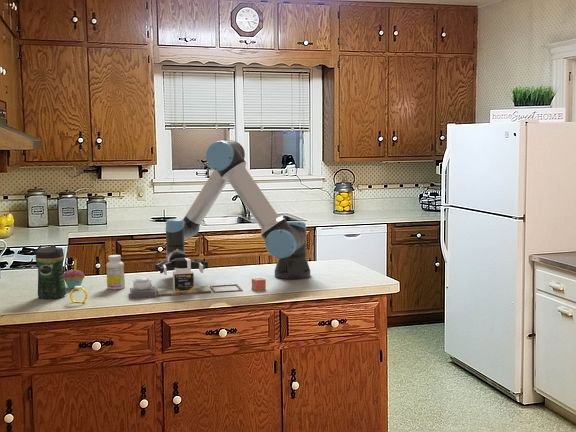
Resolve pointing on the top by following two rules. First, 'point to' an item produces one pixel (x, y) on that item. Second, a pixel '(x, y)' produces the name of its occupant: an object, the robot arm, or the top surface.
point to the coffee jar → (50, 272)
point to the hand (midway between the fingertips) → (184, 270)
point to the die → (258, 284)
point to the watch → (81, 289)
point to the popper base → (142, 293)
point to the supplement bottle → (115, 272)
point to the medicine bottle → (183, 275)
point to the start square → (225, 285)
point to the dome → (142, 284)
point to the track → (171, 292)
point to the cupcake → (73, 277)
